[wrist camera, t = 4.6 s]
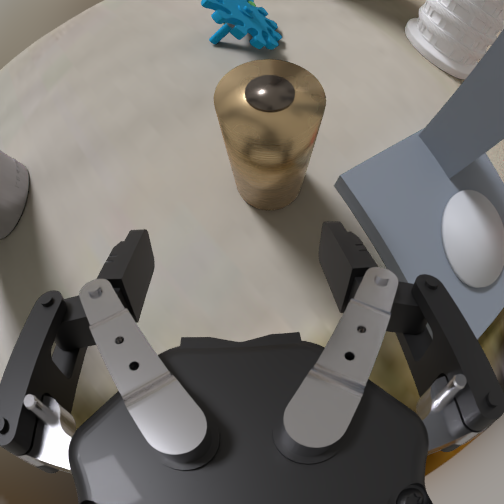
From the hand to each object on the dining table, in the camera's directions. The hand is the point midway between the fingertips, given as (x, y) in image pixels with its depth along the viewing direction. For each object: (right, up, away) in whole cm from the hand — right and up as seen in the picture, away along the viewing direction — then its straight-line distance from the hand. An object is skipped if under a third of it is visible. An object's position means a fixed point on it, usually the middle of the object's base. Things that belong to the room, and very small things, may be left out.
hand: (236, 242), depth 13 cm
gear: (0, +23, +11) cm, 25 cm away
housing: (+2, +5, +8) cm, 10 cm away
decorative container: (+26, +27, +10) cm, 39 cm away
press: (+22, +4, +7) cm, 23 cm away
